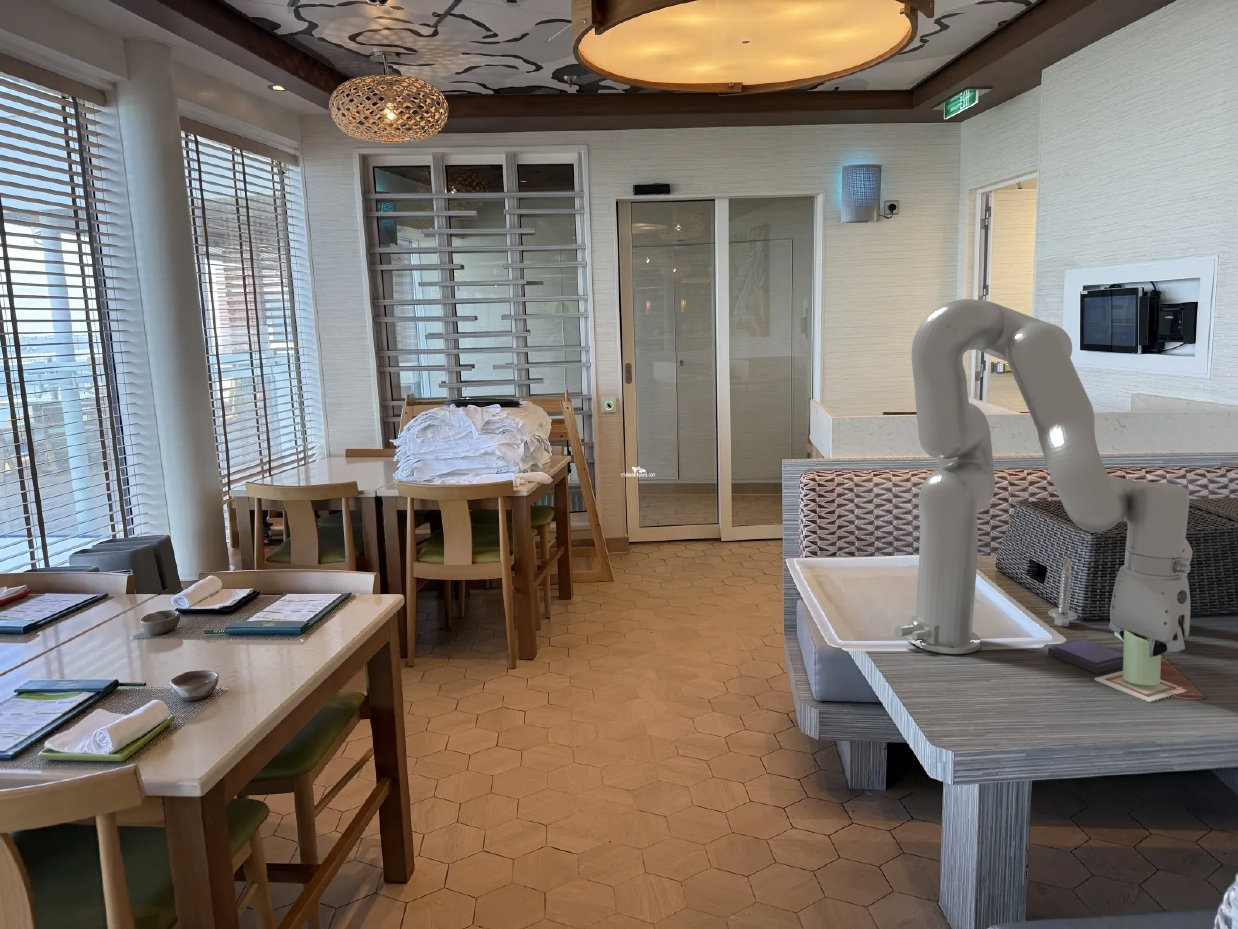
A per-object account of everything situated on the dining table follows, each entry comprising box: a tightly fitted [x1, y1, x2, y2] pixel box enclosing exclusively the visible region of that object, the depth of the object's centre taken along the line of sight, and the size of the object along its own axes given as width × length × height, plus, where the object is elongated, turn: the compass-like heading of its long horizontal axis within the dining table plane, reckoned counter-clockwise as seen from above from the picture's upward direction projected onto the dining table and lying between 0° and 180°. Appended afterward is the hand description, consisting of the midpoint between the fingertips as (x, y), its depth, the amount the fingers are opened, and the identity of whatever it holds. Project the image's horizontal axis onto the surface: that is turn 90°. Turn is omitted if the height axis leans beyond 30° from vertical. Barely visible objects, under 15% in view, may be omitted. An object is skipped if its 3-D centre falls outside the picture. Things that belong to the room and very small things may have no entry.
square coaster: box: [1094, 670, 1183, 703], centre depth 133 cm, size 9×9×1 cm
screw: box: [1047, 557, 1078, 627], centre depth 159 cm, size 13×5×5 cm
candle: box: [1122, 630, 1162, 685], centre depth 132 cm, size 5×5×8 cm
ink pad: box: [1047, 638, 1123, 675], centre depth 143 cm, size 9×9×2 cm
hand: (1141, 676), depth 133 cm, fingers closed on candle, 1 cm apart
